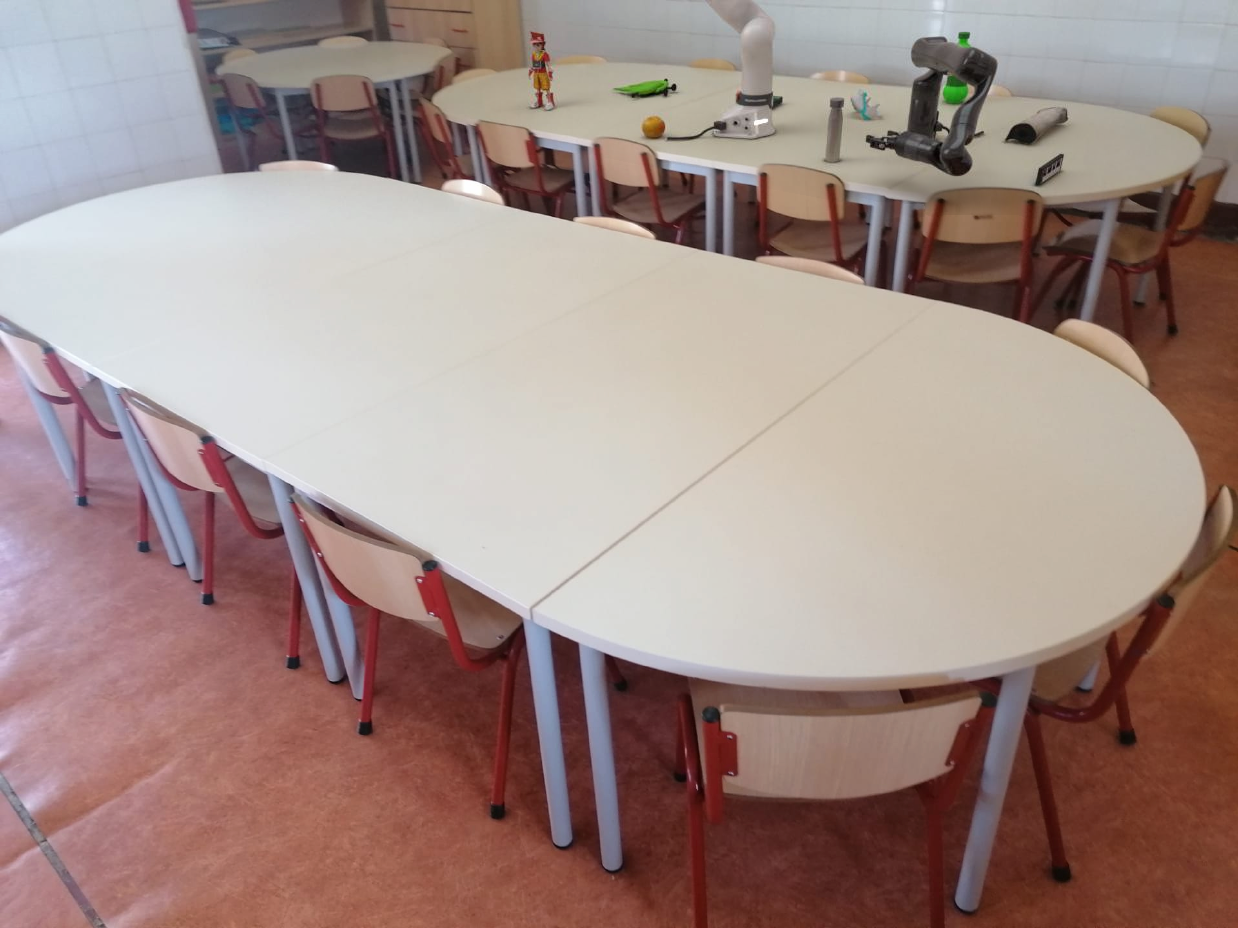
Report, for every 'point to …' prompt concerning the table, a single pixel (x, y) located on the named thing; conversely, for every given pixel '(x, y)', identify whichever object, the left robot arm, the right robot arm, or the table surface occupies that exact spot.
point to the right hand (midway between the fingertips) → (877, 136)
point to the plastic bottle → (955, 87)
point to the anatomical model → (864, 105)
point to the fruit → (653, 127)
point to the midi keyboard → (1049, 169)
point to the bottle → (834, 135)
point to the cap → (837, 102)
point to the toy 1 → (541, 71)
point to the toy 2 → (648, 88)
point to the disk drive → (777, 101)
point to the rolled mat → (1037, 125)
